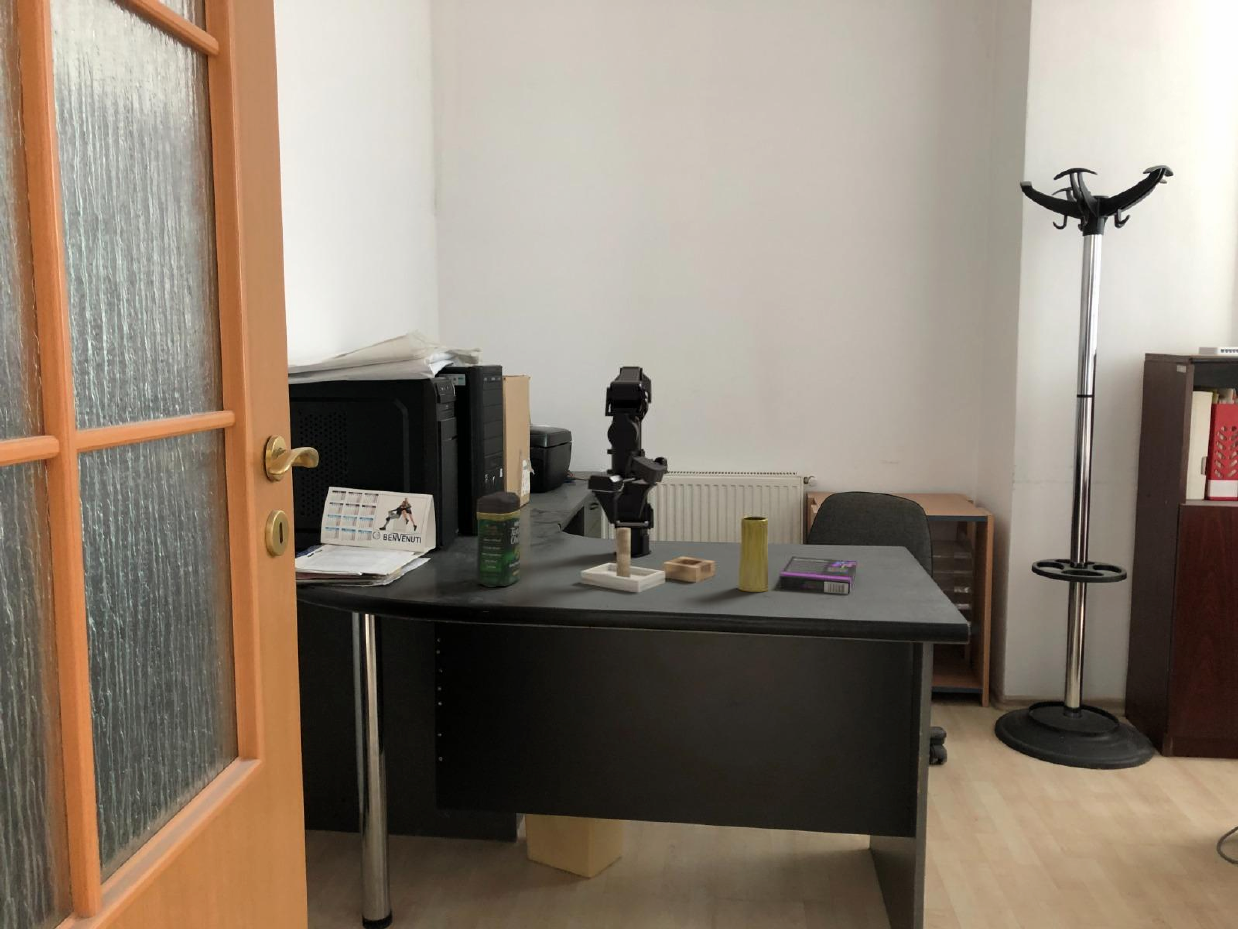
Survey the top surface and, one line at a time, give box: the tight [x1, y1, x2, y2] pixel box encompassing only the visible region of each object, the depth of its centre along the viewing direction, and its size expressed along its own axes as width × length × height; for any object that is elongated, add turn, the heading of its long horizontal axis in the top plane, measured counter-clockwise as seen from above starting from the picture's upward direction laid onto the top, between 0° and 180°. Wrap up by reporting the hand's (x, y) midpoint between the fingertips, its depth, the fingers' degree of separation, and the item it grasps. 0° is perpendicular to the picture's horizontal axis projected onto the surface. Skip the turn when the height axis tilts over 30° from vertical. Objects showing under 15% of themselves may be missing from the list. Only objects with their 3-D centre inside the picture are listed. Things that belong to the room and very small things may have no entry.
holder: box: [662, 556, 716, 583], centre depth 208 cm, size 8×8×3 cm
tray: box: [580, 562, 666, 594], centre depth 202 cm, size 14×10×2 cm
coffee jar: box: [476, 490, 522, 588], centre depth 201 cm, size 10×8×19 cm
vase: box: [737, 515, 769, 593], centre depth 197 cm, size 6×6×14 cm
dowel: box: [616, 528, 631, 578], centre depth 201 cm, size 3×3×10 cm
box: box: [779, 556, 858, 595], centre depth 205 cm, size 14×4×20 cm
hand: (625, 520), depth 201 cm, fingers open, 9 cm apart
